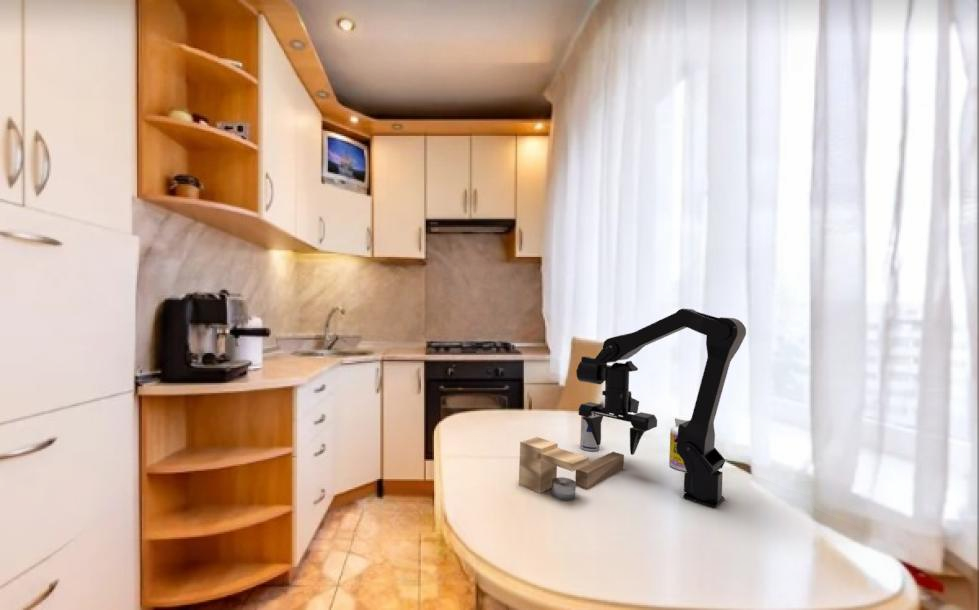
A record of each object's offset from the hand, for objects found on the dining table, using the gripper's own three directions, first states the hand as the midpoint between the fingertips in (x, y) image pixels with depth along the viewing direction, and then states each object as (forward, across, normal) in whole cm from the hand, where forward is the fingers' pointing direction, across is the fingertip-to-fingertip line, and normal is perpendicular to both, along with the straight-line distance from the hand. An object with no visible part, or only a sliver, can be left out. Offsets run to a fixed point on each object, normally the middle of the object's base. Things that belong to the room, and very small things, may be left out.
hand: (615, 449), depth 104 cm
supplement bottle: (+5, -11, -16) cm, 20 cm away
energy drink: (+5, +13, -10) cm, 17 cm away
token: (+5, 0, +22) cm, 23 cm away
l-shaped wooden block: (+5, +3, +22) cm, 23 cm away
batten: (+6, 0, +6) cm, 9 cm away
